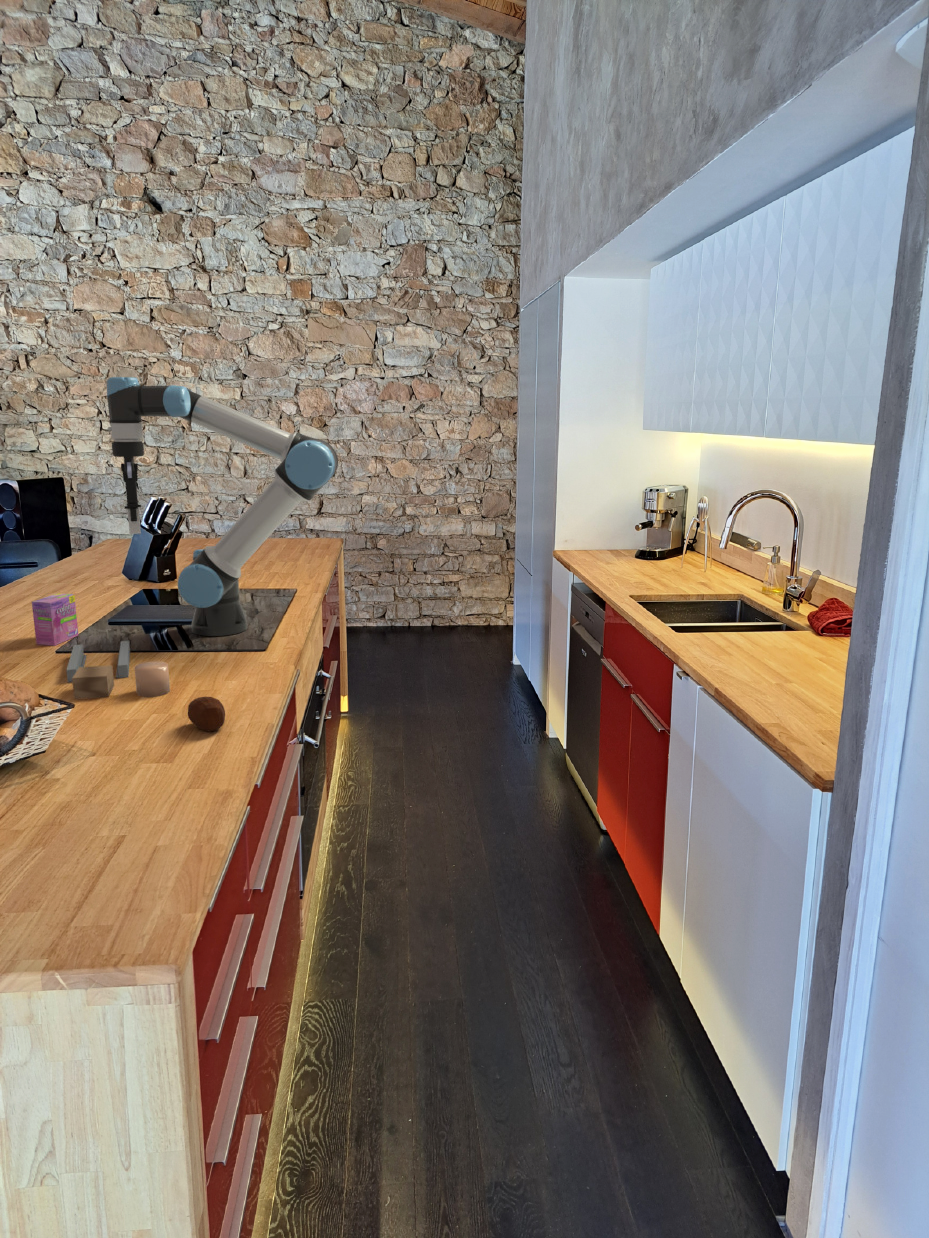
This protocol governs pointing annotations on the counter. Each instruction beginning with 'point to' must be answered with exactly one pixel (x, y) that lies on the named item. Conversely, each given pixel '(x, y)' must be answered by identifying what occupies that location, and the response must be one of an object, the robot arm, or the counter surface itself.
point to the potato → (206, 713)
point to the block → (93, 682)
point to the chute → (78, 656)
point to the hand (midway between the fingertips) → (135, 533)
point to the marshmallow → (152, 679)
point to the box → (55, 619)
